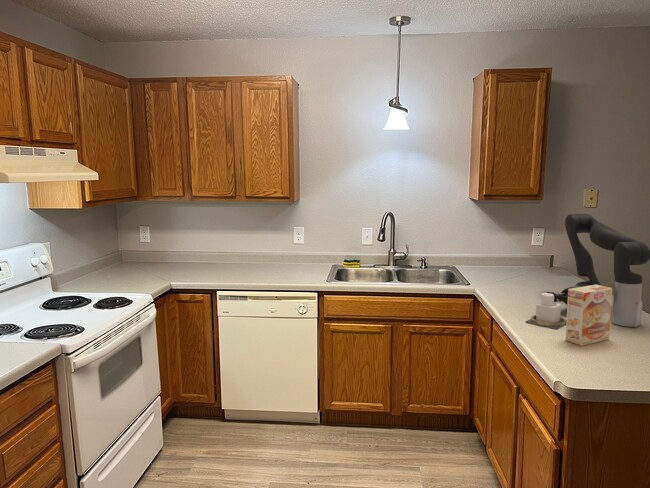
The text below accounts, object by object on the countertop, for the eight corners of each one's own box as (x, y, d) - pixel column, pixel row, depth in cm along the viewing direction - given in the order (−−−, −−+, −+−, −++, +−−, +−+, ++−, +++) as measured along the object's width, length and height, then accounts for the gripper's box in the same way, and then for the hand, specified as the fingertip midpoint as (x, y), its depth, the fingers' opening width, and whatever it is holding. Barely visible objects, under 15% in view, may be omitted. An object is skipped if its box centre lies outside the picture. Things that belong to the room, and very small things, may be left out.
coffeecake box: (581, 346, 166) (584, 292, 163) (564, 340, 172) (566, 288, 170) (610, 339, 172) (613, 287, 169) (592, 333, 178) (595, 283, 175)
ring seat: (570, 322, 192) (570, 318, 192) (556, 329, 184) (556, 325, 184) (539, 316, 202) (539, 312, 201) (525, 322, 194) (525, 318, 193)
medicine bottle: (542, 317, 198) (543, 289, 196) (560, 320, 193) (561, 292, 191) (535, 321, 193) (536, 293, 191) (553, 324, 188) (555, 295, 186)
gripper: (557, 284, 212) (540, 290, 202) (591, 289, 201) (575, 296, 191) (556, 300, 213) (540, 307, 203) (590, 306, 202) (574, 314, 192)
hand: (557, 302), depth 197 cm, fingers open, 8 cm apart
